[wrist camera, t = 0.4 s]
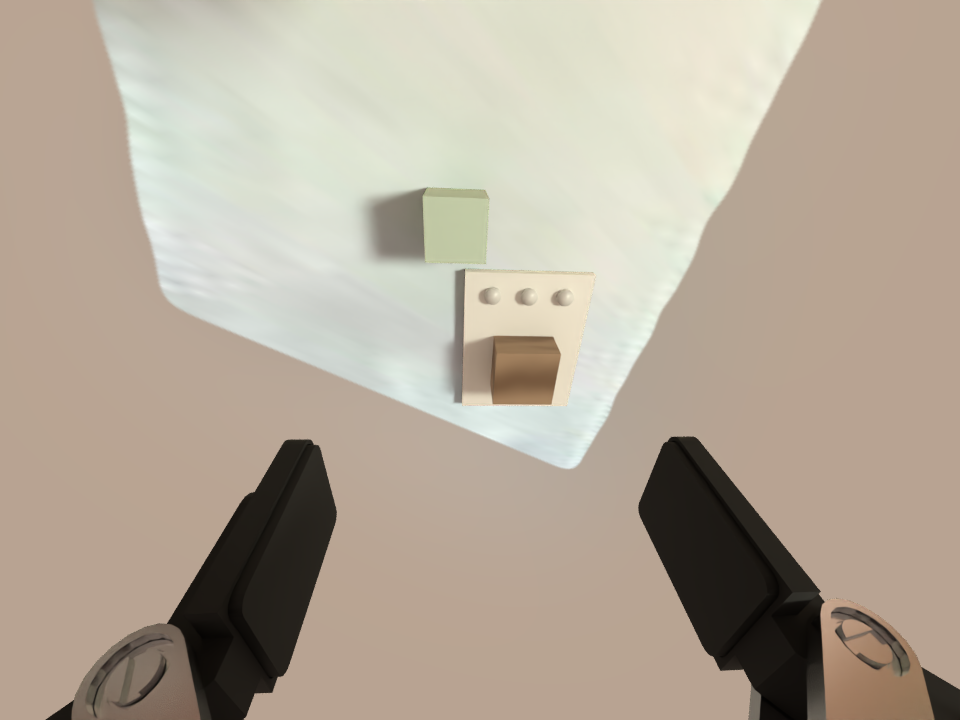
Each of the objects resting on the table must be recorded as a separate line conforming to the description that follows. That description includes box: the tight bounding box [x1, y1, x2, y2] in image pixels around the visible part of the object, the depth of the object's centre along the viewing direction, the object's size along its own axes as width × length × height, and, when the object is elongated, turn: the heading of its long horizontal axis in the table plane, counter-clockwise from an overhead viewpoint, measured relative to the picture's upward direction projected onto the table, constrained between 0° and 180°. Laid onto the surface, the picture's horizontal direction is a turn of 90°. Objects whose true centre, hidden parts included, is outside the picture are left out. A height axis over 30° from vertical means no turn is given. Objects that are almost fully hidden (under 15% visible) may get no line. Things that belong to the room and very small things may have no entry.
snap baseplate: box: [462, 269, 596, 406], centre depth 43 cm, size 18×14×2 cm
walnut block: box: [490, 336, 561, 405], centre depth 42 cm, size 7×7×4 cm
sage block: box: [423, 187, 489, 264], centre depth 34 cm, size 6×6×6 cm
